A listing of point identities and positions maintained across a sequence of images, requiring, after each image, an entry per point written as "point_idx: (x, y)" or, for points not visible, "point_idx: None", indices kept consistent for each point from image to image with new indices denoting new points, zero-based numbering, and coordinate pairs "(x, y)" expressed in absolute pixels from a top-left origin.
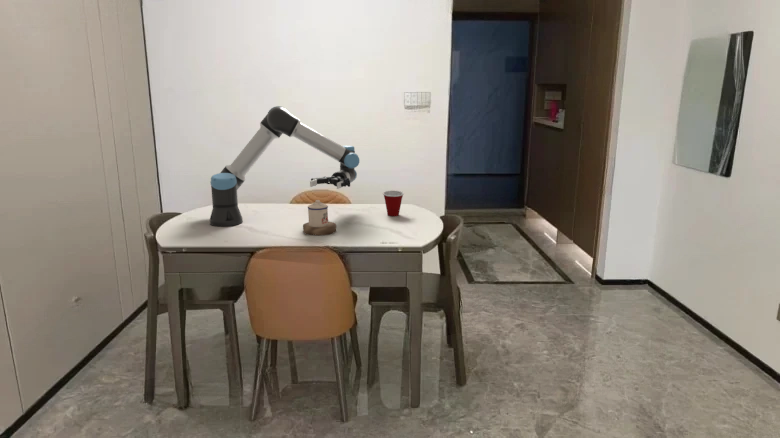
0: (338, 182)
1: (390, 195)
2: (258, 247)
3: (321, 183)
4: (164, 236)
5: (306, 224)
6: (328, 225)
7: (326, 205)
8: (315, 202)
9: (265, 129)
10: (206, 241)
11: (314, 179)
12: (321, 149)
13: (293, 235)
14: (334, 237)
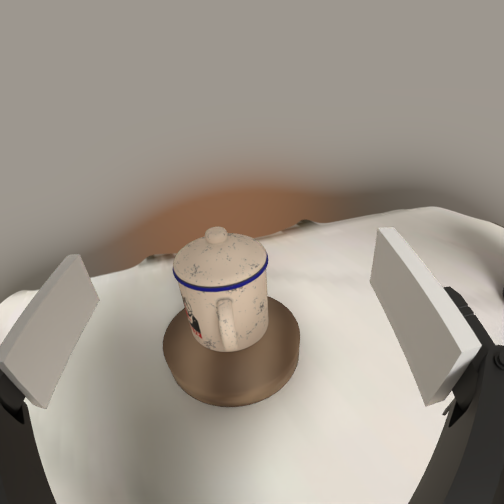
0: (60, 275)
1: None
2: (307, 225)
3: (416, 490)
4: (486, 225)
5: (284, 323)
6: (191, 335)
7: (176, 259)
8: (227, 238)
9: None
10: (418, 223)
11: (495, 348)
12: None
13: (294, 292)
14: (163, 308)
